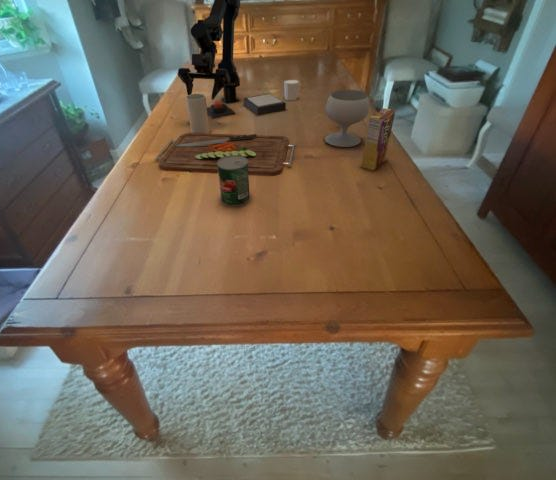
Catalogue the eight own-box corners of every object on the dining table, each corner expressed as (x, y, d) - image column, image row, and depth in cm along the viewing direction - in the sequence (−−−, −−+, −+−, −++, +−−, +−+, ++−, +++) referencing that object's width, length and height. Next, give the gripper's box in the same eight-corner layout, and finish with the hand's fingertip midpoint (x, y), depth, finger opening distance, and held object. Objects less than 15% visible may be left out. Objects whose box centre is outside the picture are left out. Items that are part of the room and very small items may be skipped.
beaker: (189, 131, 133) (183, 95, 124) (206, 128, 135) (201, 92, 126) (194, 137, 128) (189, 100, 119) (212, 134, 130) (207, 97, 121)
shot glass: (297, 101, 154) (298, 83, 150) (282, 100, 156) (282, 83, 151) (299, 96, 159) (300, 79, 155) (284, 95, 161) (284, 79, 156)
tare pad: (203, 110, 150) (202, 103, 149) (224, 106, 153) (224, 100, 151) (212, 118, 142) (211, 112, 140) (235, 114, 145) (234, 108, 143)
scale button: (213, 106, 147) (212, 102, 146) (221, 104, 148) (220, 100, 147) (215, 108, 144) (215, 104, 143) (223, 107, 146) (223, 103, 144)
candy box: (372, 156, 112) (383, 107, 101) (385, 160, 109) (397, 110, 99) (359, 167, 107) (369, 116, 96) (372, 171, 105) (383, 119, 94)
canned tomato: (216, 204, 94) (211, 166, 87) (228, 189, 100) (224, 153, 92) (243, 208, 92) (240, 170, 84) (254, 194, 97) (252, 157, 90)
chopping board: (148, 169, 111) (146, 160, 109) (176, 136, 130) (174, 127, 128) (288, 176, 104) (289, 166, 102) (296, 140, 123) (296, 131, 121)
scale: (243, 105, 153) (243, 97, 151) (269, 100, 157) (269, 92, 154) (257, 115, 143) (257, 107, 140) (285, 110, 146) (285, 101, 144)
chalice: (336, 152, 115) (343, 104, 105) (315, 137, 124) (318, 92, 114) (371, 144, 119) (380, 97, 108) (347, 130, 128) (354, 86, 118)
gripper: (174, 42, 121) (167, 85, 121) (224, 42, 118) (218, 87, 117) (186, 62, 132) (180, 102, 132) (233, 63, 129) (227, 104, 128)
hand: (200, 98), depth 127 cm, fingers open, 9 cm apart
